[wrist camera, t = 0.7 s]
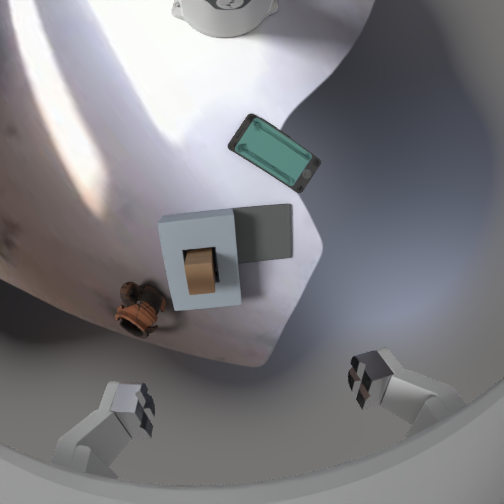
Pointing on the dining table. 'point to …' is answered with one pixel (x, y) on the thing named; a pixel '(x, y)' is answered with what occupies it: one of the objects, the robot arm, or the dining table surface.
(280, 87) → the dining table surface
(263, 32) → the dining table surface
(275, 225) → the rubber mat
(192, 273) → the walnut block
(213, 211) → the pocket holder
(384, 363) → the robot arm
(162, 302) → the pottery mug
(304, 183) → the smartphone
